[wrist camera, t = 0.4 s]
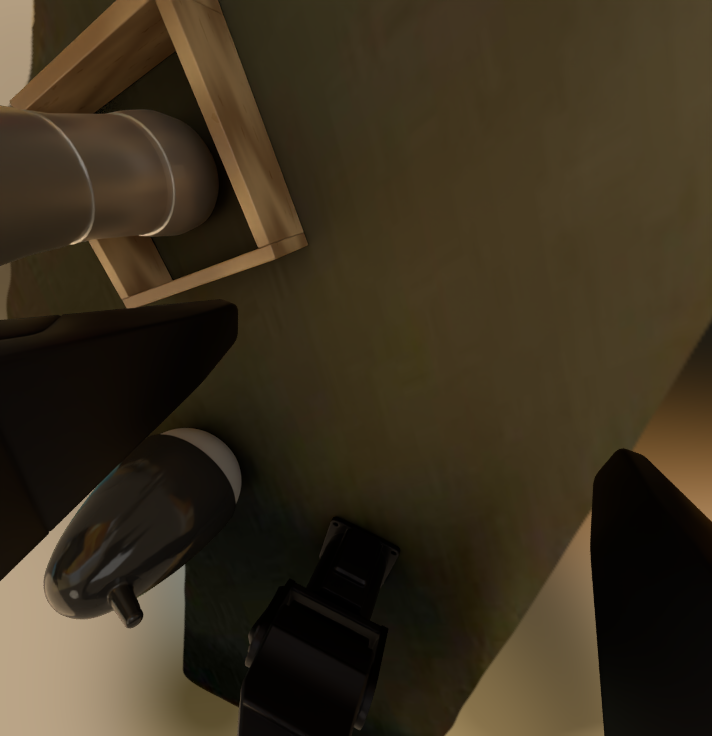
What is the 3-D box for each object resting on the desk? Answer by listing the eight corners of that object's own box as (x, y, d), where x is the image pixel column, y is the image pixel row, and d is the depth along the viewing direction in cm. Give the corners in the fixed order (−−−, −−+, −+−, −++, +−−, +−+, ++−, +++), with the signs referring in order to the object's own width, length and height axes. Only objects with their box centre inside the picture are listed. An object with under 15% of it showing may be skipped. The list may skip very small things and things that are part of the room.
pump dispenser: (266, 508, 38) (142, 684, 25) (180, 480, 41) (30, 624, 28) (255, 425, 33) (94, 591, 20) (158, 399, 36) (-36, 531, 23)
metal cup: (128, 145, 25) (-650, 116, 8) (200, 90, 22) (-818, -133, 5) (179, 243, 27) (-357, 379, 10) (252, 206, 24) (-349, 316, 7)
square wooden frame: (309, 245, 24) (275, 259, 20) (171, 293, 29) (127, 310, 26) (217, -5, 19) (155, -38, 16) (75, 108, 25) (8, 101, 22)
